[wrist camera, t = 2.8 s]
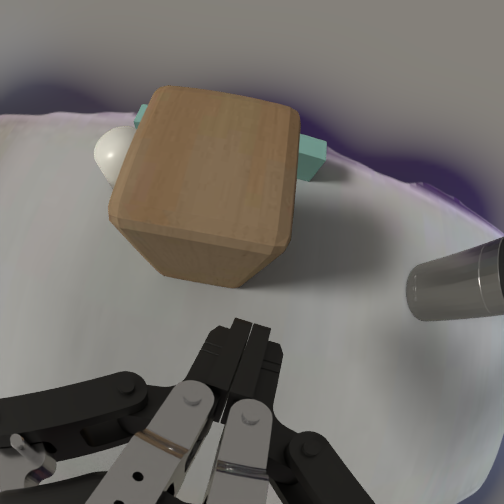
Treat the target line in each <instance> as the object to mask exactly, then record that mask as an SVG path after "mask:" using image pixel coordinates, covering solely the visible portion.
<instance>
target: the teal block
mask: <svg viewBox="0 0 504 504" xmlns="http://www.w3.org/2000/svg"><path fill="white" fill-rule="evenodd" d="M147 106H148V105H143V104H142V106H141V108H140V110H139V112H138V114H137V116H136V118H135V120H134V125H135V128H136V129H137V128H138V125H139V123H140V121H141V119H142V117H143V115H144V113H145V110H146V108H147ZM325 161H326V141H322V140H319V139H316V138H313V137H310V136H306V135H303V134H300V142H299V156H298V169H297V179H301V180H305V181H310V180H311V179H312V177H313V176H314V175H315V174H316V172H317V171H318V170H319V169H320V167H321V166H322V165H323V163H324V162H325Z"/></svg>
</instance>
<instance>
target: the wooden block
mask: <svg viewBox="0 0 504 504" xmlns="http://www.w3.org/2000/svg"><path fill="white" fill-rule="evenodd" d="M300 126H301V123H300V117H299V114H298V112H297V111H296V110H294V109H292V108H291V107H288V106H284V105H281V104H277V103H272V102H268V101H264V100H260V99H255V98H250V97H245V96H239V95H235V94H229V93H224V92H217V91H211V90H204V89H197V88H189V87H180V86H169V85H168V86H164V87H160V88H159V89H157V90H156V91H155V92H154V94H153V96H152V98H151V100H150V102H149V104H148V106H147V108H146V110H145V113H144V115H143V117H142V119H141V121H140V123H139V125H138V128H137V130H136V132H135V135H134V137H133V139H132V142H131V144H130V146H129V149H128V151H127V154H126V156H125V159H124V161H123V164H122V167H121V169H120V172H119V175H118V178H117V180H116V183H115V186H114V189H113V192H112V195H111V198H110V201H109V205H108V212H109V221H110V222H111V223H112V224H113V225H114V226H115V227H116V228H117V229H118V230H119V232H120V233H121V234H122V235H123V236H124V237H125V238H126V239H127V240H128V241H129V242H130V243H131V244H132V245H133V247H134V248H135V249H136V250H137V251H138V252H139V253H140V254H141V255H142V256H143V257H144V258H145V259H146V260H147V261H148V262H149V263H150V264H151V265H152V266H153V267H154V268H155V269H156V270H157V271H158V272H159V273H160V274H162V275H163V276H167V277H172V278H177V279H183V280H188V281H193V282H199V283H204V284H210V285H216V286H221V287H227V288H237V287H240V286H241V285H243V284H244V283H245V282H247V281H248V280H249V279H250V278H252V277H253V276H254V275H255V274H257V273H258V272H259V271H261V270H262V269H263V268H264V267H266V266H267V265H268V264H269V263H271V262H272V261H273V260H274V259H276V258H277V257H278V256H280V255H281V254H282V253H283V252H284V251H285V249H286V248H287V246H288V244H289V242H290V241H291V233H292V223H293V213H294V203H295V192H296V181H297V169H298V156H299V142H300V128H301V127H300Z"/></svg>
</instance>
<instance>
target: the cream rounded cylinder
mask: <svg viewBox="0 0 504 504" xmlns="http://www.w3.org/2000/svg"><path fill="white" fill-rule="evenodd" d="M136 130H137V129H135V128H133V127H129V126H121V127H117V128H114V129H112V130H110V131H108V132H107V133H105V134H104V135H103V136H102V137H101V138H100V139H99V141H98V142H97V144H96V146H95V150H94V158H95V161H96V162H97V164H98V166H99V167H100V169H101V171H102V172H103V174H104V176H105V177H106V179H107V180H108V182H109V184H110V185H111V187H112V188H113V189H114V186H115V183H116V180H117V178H118V175H119V172H120V169H121V167H122V164H123V161H124V159H125V156H126V154H127V151H128V149H129V146H130V144H131V142H132V139H133V137H134V135H135V132H136Z"/></svg>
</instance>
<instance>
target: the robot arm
mask: <svg viewBox="0 0 504 504" xmlns="http://www.w3.org/2000/svg"><path fill="white" fill-rule="evenodd" d="M406 296H407V302H408V305H409V308H410V310H411V312H412V313H413V315H414V316H415V317H416V318H417V319H419V320H421V321H441V320H457V319H469V318H480V317H490V316H498V315H504V237H502V238H499V239H496V240H493V241H490V242H488V243H485V244H482V245H479V246H476V247H473V248H470V249H467V250H464V251H461V252H458V253H455V254H452V255H449V256H446V257H443V258H439V259H436V260H433V261H429V262H426V263H423V264H420V265H417V266H416V267H415V268H414V269H413V270H412V271H411V273H410V275H409V277H408V281H407V287H406ZM251 327H252V323H251V322H248V321H245V320H242V319H238V318H235V319H234V322H233V324H232V326H231V328H230V329H228V328H225V327H222V326H218V327H216V328H215V329H213V330H212V331H211V332H210V333H209V335H208V337H207V339H206V340H205V343H204V344H203V346H202V348H201V350H200V352H199V354H198V356H197V357H196V359H195V361H194V363H193V365H192V367H191V369H190V371H189V373H188V374H187V376H186V378H185V379H184V380H183V381H182V382H180V383H178V384H177V385H175V386H171V387H159V386H152V385H146V383H145V381H144V379H143V378H142V377H140V376H139V375H137V374H136V373H133V372H128V371H123V372H118V373H114V374H111V375H107V376H103V377H100V378H96V379H92V380H88V381H84V382H80V383H76V384H72V385H68V386H63V387H59V388H55V389H50V390H45V391H40V392H36V393H30V394H25V395H20V396H14V397H8V398H2V399H0V490H1V492H0V504H190V503H185V502H183V501H181V500H179V499H178V498H176V495H177V493H178V492H179V490H180V488H181V486H182V484H183V481H184V479H185V476H186V474H187V472H188V470H189V468H190V466H191V464H192V463H193V461H194V459H195V457H196V455H197V453H198V451H199V449H200V447H201V445H202V443H203V441H204V439H205V437H206V436H207V434H208V433H209V430H210V428H211V425H212V423H213V421H215V422H218V423H219V420H220V418H221V415H222V412H223V410H224V407H225V410H224V413H223V416H222V419H221V423H222V424H225V426H224V429H223V432H222V435H221V438H220V441H219V445H218V448H217V452H216V456H215V460H214V464H213V467H212V471H211V475H210V479H209V482H208V486H207V489H206V492H205V496H204V499H203V503H202V504H266V499H267V492H268V485H269V482H270V484H271V486H272V487H273V489H274V490H275V492H276V494H277V495H278V497H279V498H280V500H281V502H282V503H283V504H375V503H374V501H373V500H372V499H371V498H370V496H369V495H368V494H367V493H366V491H365V490H364V489H363V487H362V486H361V485H360V484H359V482H358V481H357V480H356V478H355V477H354V476H353V474H352V473H351V472H350V470H349V469H348V468H347V467H346V465H345V464H344V463H343V461H342V460H341V459H340V457H339V456H338V454H337V453H336V452H335V450H334V449H333V448H332V446H331V445H330V444H329V442H328V441H327V440H326V438H324V437H323V436H322V435H320V434H318V433H316V432H311V431H305V432H301V433H299V434H298V433H296V432H295V431H293V430H291V429H289V428H287V427H285V426H284V425H282V424H281V423H280V422H279V421H278V420H277V418H276V417H275V415H274V412H273V403H274V398H275V393H276V388H277V384H278V379H279V373H280V369H281V363H282V358H283V352H282V349H281V346H280V344H278V343H275V342H271V341H268V339H269V335H270V331H271V328H268V327H265V326H261V325H258V324H255V323H254V325H253V328H252V331H251V333H250V330H251ZM249 334H250V336H249ZM248 337H249V339H248ZM247 340H248V342H247ZM246 344H247V345H246ZM245 347H246V348H245ZM244 350H245V351H244ZM227 399H228V400H227ZM226 401H227V403H226ZM225 404H226V406H225ZM126 443H128V444H127V445H126V447H125V448H124V450H123V451H122V452H121V454H120V455H119V457H118V458H117V459H116V461H115V462H114V464H113V465H112V466H111V468H110V469H109V471H101V472H93V473H88V474H85V475H81V476H78V477H74V478H70V479H66V480H62V481H58V482H53V483H49V484H44V485H39V483H40V482H41V481H42V480H44V479H46V478H49V477H51V476H52V475H53V474H54V473H55V471H56V462H58V461H63V460H67V459H72V458H76V457H80V456H84V455H88V454H92V453H96V452H99V451H103V450H106V449H110V448H113V447H116V446H120V445H123V444H126Z"/></svg>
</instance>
